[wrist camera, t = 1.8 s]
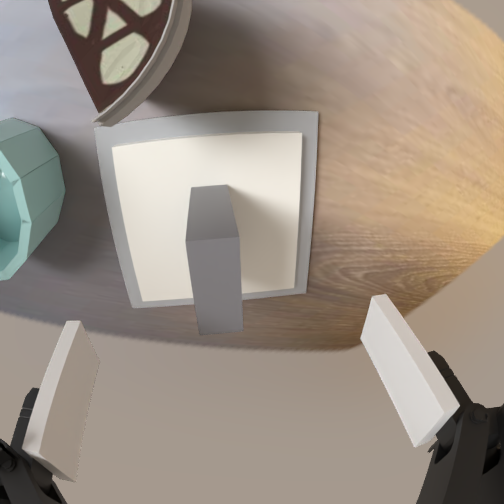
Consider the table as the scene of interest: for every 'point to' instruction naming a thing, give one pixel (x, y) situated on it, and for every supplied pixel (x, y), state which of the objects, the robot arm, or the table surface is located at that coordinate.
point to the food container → (122, 48)
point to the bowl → (26, 192)
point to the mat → (198, 126)
